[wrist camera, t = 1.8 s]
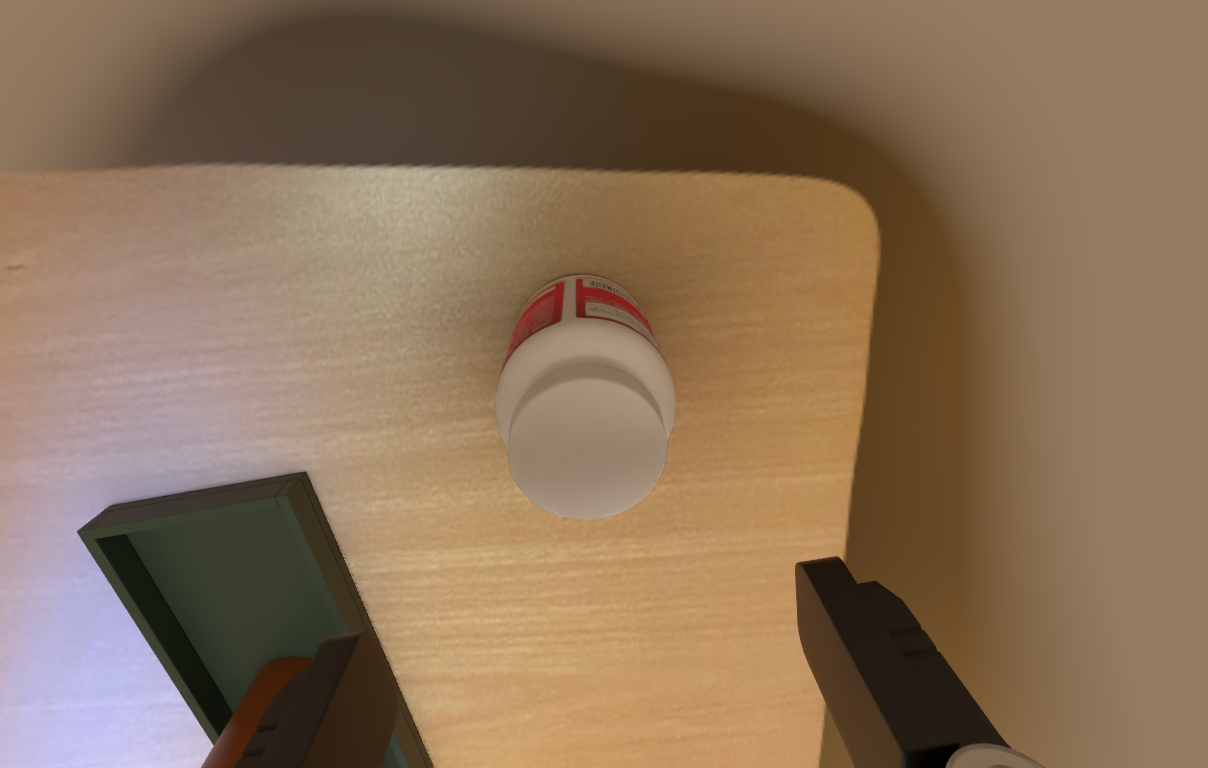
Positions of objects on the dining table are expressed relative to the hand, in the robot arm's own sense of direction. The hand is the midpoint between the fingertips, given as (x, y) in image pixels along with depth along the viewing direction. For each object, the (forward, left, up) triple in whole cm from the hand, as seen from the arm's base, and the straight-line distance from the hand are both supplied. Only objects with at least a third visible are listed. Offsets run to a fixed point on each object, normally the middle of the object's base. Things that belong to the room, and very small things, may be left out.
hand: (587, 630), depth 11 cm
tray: (-20, -18, -17) cm, 32 cm away
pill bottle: (0, 0, -18) cm, 18 cm away
